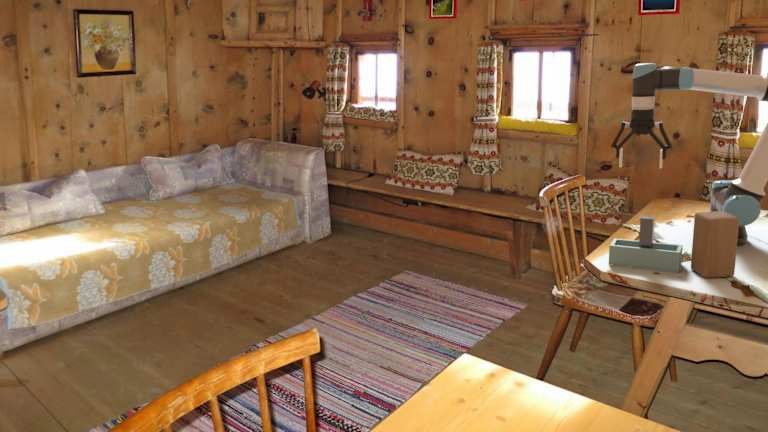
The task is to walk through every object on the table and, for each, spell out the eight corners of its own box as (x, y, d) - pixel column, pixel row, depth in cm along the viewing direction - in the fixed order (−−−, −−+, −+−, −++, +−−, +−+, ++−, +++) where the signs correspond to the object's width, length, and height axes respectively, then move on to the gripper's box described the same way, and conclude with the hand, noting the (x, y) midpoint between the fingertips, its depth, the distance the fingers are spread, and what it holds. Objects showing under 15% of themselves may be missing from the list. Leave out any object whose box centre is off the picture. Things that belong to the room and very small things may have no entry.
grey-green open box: (681, 264, 227) (682, 244, 225) (678, 272, 219) (679, 252, 218) (613, 256, 238) (614, 238, 236) (608, 264, 230) (609, 245, 228)
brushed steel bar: (652, 260, 229) (654, 216, 225) (650, 264, 226) (653, 219, 222) (639, 259, 231) (642, 215, 227) (638, 262, 228) (640, 218, 223)
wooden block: (689, 269, 222) (693, 211, 217) (717, 267, 223) (722, 209, 218) (705, 279, 213) (710, 219, 207) (735, 277, 213) (741, 217, 208)
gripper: (682, 106, 231) (678, 166, 236) (607, 107, 242) (605, 164, 247) (680, 109, 224) (677, 170, 230) (604, 109, 235) (602, 168, 241)
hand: (640, 167), depth 238 cm, fingers open, 13 cm apart
